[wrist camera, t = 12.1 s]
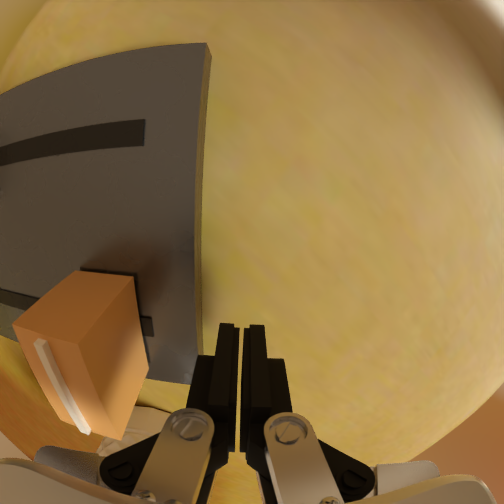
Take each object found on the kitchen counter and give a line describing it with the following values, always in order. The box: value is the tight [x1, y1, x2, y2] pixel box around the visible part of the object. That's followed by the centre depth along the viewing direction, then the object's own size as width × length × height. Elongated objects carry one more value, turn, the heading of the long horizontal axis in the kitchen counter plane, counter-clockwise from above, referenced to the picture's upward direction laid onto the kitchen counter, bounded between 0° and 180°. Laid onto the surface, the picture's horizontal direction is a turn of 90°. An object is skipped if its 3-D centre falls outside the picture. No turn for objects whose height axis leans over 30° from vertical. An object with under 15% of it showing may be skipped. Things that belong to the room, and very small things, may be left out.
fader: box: [12, 270, 149, 441], centre depth 9 cm, size 3×5×5 cm, turn 176°
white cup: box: [96, 406, 171, 457], centre depth 12 cm, size 8×8×10 cm
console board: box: [0, 43, 212, 385], centre depth 10 cm, size 22×15×3 cm
